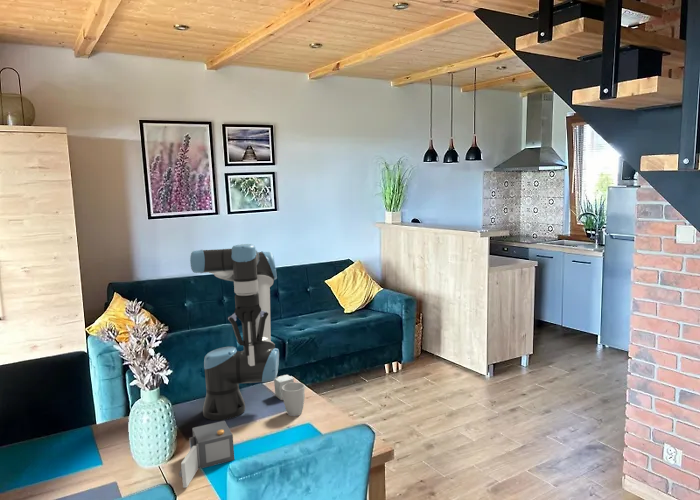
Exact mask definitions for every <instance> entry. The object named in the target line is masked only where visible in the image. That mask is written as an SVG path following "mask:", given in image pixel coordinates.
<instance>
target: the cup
mask: <svg viewBox="0 0 700 500" xmlns="http://www.w3.org/2000/svg"><path fill="white" fill-rule="evenodd" d="M305 389H306V388H305V384H304V383H303V382H302V383H301V382H299V381H298V382H297V381H295V382H293V383H288V384H285V385H283V386H282V393H283V400H282V401H283V404H284V407H285V411H286V413H287V415H288V416H289V417H290V416H291V417H297V416H300V415H302V414H303V410H304V406H305V392H306V391H305Z"/></svg>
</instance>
